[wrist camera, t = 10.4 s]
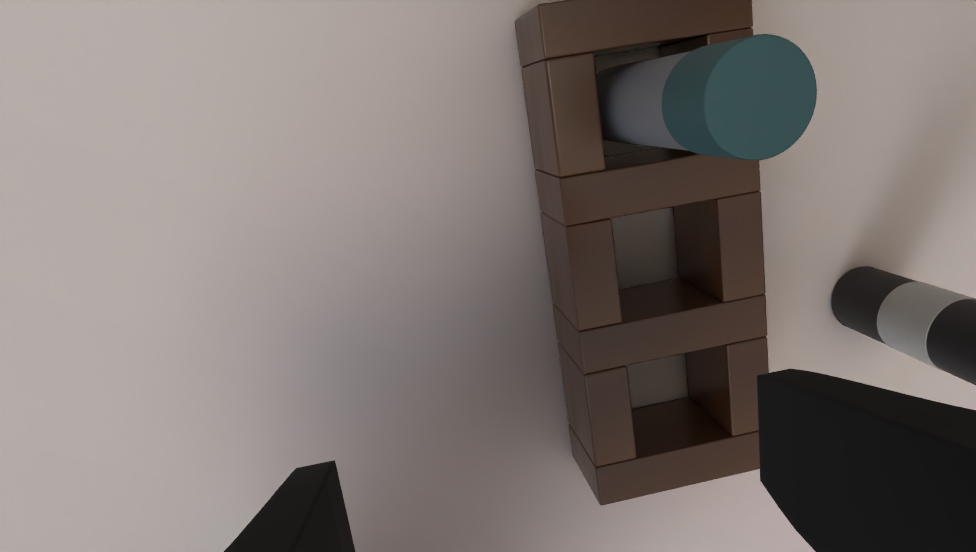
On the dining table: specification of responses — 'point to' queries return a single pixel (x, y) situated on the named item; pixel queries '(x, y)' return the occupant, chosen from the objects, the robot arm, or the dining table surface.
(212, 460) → the dining table surface
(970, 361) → the black marker
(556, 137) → the marker stand
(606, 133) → the teal marker
